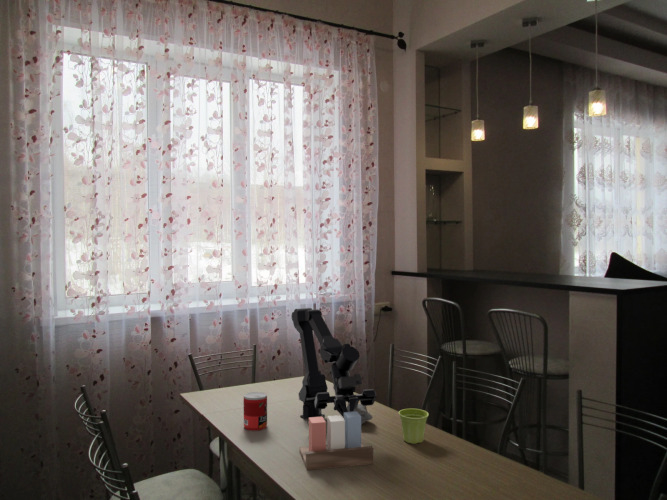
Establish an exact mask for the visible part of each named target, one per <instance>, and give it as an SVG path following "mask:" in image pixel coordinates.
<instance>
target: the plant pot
mask: <svg viewBox="0 0 667 500" xmlns="http://www.w3.org/2000/svg"><path fill="white" fill-rule="evenodd" d="M398 415H399V419H400V422H401V429H402V437H403V441H405V443H408V444H413V445H414V444H418V443H419V444H421V443H423V442H424V439H425V438H424V437H425V431H426V430H425V429H426V423H427V420H428V417H429V412H428V411H426V410H423V409H420V408H404V409H401V410H399V411H398Z"/></svg>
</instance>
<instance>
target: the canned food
mask: <svg viewBox="0 0 667 500" xmlns="http://www.w3.org/2000/svg"><path fill="white" fill-rule="evenodd" d="M243 426H244V427H243V428H244V429H245V430H247V431H253V432H255V431H257V432H258V431H262V430H265V429H266V428H267V426H268V394H267V393H265V392H262V391H250V392H247V393H245V394H243Z"/></svg>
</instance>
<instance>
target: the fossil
mask: <svg viewBox="0 0 667 500" xmlns="http://www.w3.org/2000/svg"><path fill="white" fill-rule="evenodd" d="M346 407H348V404H346ZM354 411H357V412H358V413H359V415H360V416H361V425H363V424H364V423H365V422H366V421H370V420H373V415H372V414H371V413H370V412H368V409H367V406H363V405H362V404H361V403H358V405H357V408H356V409H354ZM354 411H353V412H354Z"/></svg>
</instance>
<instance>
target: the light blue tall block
mask: <svg viewBox="0 0 667 500" xmlns="http://www.w3.org/2000/svg"><path fill="white" fill-rule="evenodd" d="M343 419H344V420H345V447H346V448H355V447H361V442H362V424H361V416H360V415H359V413H358V412H357V411H354V412H344V418H343Z"/></svg>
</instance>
